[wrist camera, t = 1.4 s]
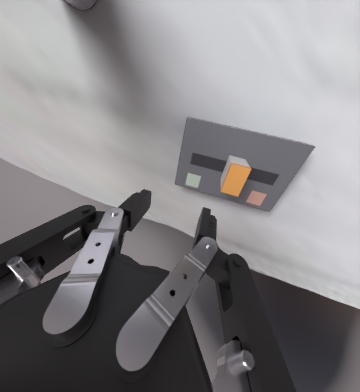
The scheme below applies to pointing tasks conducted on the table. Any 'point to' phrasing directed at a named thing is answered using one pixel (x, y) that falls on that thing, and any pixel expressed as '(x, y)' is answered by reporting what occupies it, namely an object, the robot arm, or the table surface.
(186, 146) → the switch panel
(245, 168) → the lever
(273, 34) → the table surface
